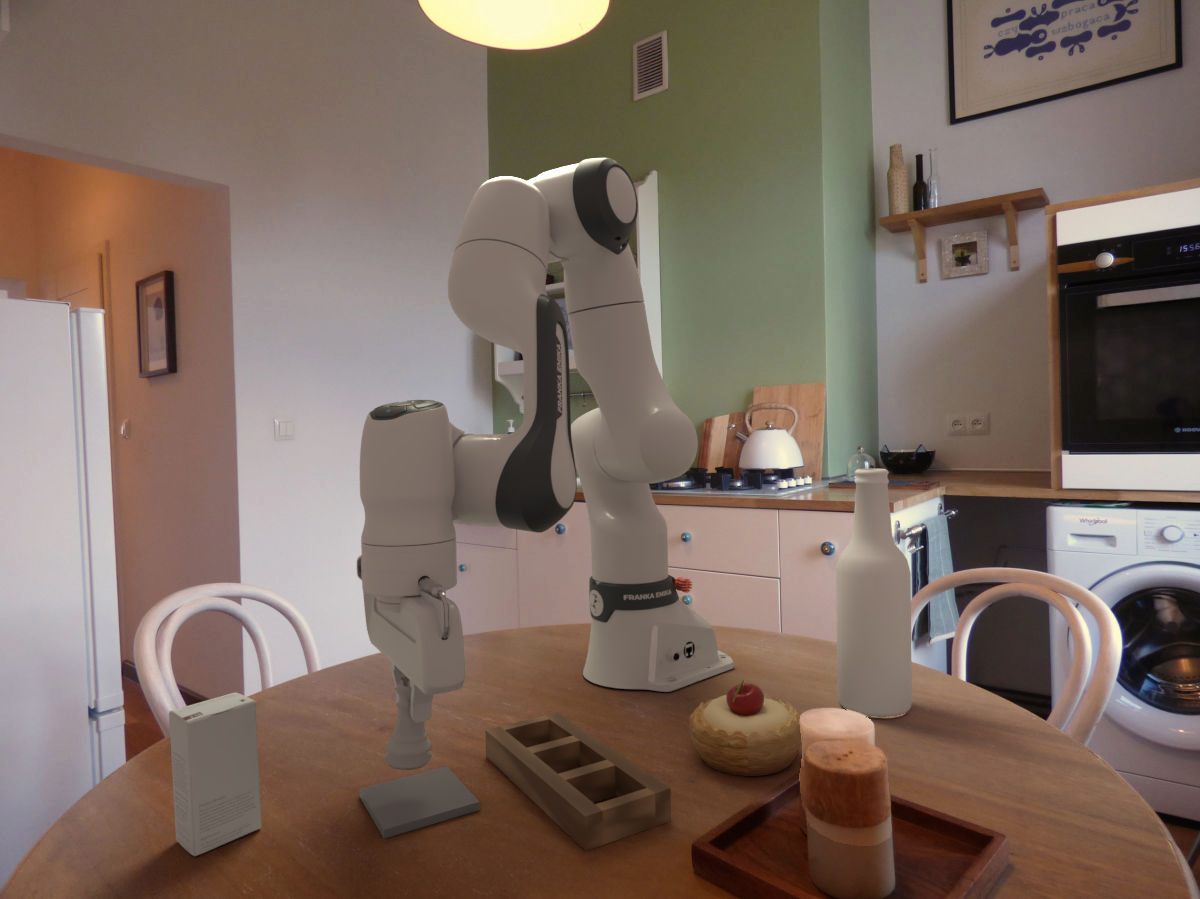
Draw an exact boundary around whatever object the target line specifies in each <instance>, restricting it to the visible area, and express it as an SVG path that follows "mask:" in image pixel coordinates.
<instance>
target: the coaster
mask: <svg viewBox="0 0 1200 899" xmlns="http://www.w3.org/2000/svg"><path fill="white" fill-rule="evenodd" d="M358 793H359V799H360V800H361V801H362V804H363V806H364V807H365V808H366V810H367V812H368V813H369V815H370V817H371V818H372V821H373V823H374V825H375V826H376V827H377V829H378V831H379V832H380V835H381V836H382V838H383V839H388V838H390V837H394V836H397V835H401V834H404V833H408V832H411V831H415V830H417V829H421V828H424V827H428V826H430V825H434V824H437V823H441V822H445V821H448V820H451V819H454V818H458V817H461V816H464V815H468V814H471V813H475V812H477V811H480V810H481V809H480V801H479V799H477V797H476V796H475V795H474V794H473V793H472V792H471V791H470V790H469V788H467V786H466V785H465V783H463V782H462V780H460V778H458V776H456V774H455V773H454V772H453V771H452V770H451V769H450V767H448V766H447V765H446V766H442V767H438V768H434V769H431V770H425V771H423V772H420V773H416V774H412V775H408V776H403V777H400V778H397V779H392V780H389V781H384V782H381V783H380V782H379V783H378V784H373V785H369V786H365V787H362V788H359V792H358Z"/></svg>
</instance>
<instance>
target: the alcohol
mask: <svg viewBox="0 0 1200 899" xmlns="http://www.w3.org/2000/svg"><path fill="white" fill-rule="evenodd" d="M889 473H890V472H889V471H888V469H886V468H857V469H856V470H855V471H854V474H855V479H854V483H855V496H854V497H855V498H854V511H853V524H852V525H853V526H852V536H851V538H850V541H849V544H847V545H846V547H845V548H844V549H843V550H842V551H841V553H840V554H839V556H838V559H837V564H836V567H835V592H836V593H835V597H836V598H835V599H836V600H835V601H836V602H835V603H836V605H835V606H836V607H835V608H836V612H835V613H836V684H837V688H836V690H837V692H836V693H837V694H836V695H837V696H836V697H837V700H838V701H839V704H840V705H841V706H843V707H842V708H843V709H844V708H845V709H850V710H853V711H856V712H860V713H862V714H865V715H867V716H869V717H870V718H869V719H873V718H872V717H871V716H877V717H887V716H888V717H889V716H897V715H901V714H904V713H906V712H907V711H908V712H909V710H910V709H911V707H912V705H913V701H912V700H913V699H912V698H913V689H912V688H913V687H912V686H913V682H912V678H913V676H912V674H913V672H912V591H911V590H912V588H911V586H912V584H911V583H912V580H911V578H912V577H911V576H912V575H911V569H910V565H909V561H908V558H907V557H906V556H905V554H904V553H903V551H902V550H901V549H900V548H899V547H898V545H896V542H895V539H894V537H893V529H892V518H891V508H890V507H891V506H890V496H889V486H888V484H889V483H890V480H889V478H888V475H889ZM845 709H844V710H845ZM908 712H907V713H908ZM907 713H906V714H907Z"/></svg>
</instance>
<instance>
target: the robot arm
mask: <svg viewBox="0 0 1200 899" xmlns="http://www.w3.org/2000/svg"><path fill="white" fill-rule="evenodd" d="M638 208H639V202H638V195H637V192H636V188H635V185H634V183H633V180H632V178H631V176H630V174H629V173H628V172H627V170H626V169H625V168H624V167H623V166H622V165H621V164H619V163H618V162H617V161H616V160H615V159H613V158H609V157H595V158H586V159H583V160H581V161H579V163H574V164H570V165H565V166H561V167H558V168H554V169H550V170H547V171H543V172H542V173H540V174H538V175H537V176H535V177H532V178H529V180H525V179H522V178H519V177H515V176H508V175H507V176H505V175H504V176H496V177H494V178H491V179H488V180H486V181H485V182H483V183H482V184H481V185H480V186H479V187H478V189H476V191H475V193H474V195H473V197H472V198H471V201H470V204H469V205H468V207H467V210H466V213H465V215H464V218H463V220H462V222H461V225H460V228H459V232H458V235H457V238H456V242H455V245H454V246H455V247H454V249H453V250H454V251H453V254H452V258H451V264H450V268H449V273H448V280H447V298H448V301H449V303H450V306H451V308H452V310H453V313H454V314H455V315H456V317H457V318H458V319H459V321H461V322H460V323H462V324H463V325H464V326H465V327H466V328H468V329H469V330H470V331H472V332H473V333H474V334H475V335H478V337H480V338H482V339H484V340H487V341H488V342H490V343H493V344H495V345H498V346H501V347H505V348H507V349H509V350H513V351H515V352H517V353H519V354H521V355H522V360H523V421H522V423H521V425H520V427H519V428H518V429H516V430H515V431H513V432H511V433H491V434H489V433H487V434H486V433H485V434H479V433H478V434H475V433H466V431H465V430H462V429H460V428H458V427H457V426H455V425H454V424H453V423H452V422H450V418H449V413H448V410H447V406H446V405H445V404H444V403H442V402H440V401H436V400H435V399H434V400H431V399H413V400H406V401H405V400H404V401H396V402H394V401H393V402H391V403H386V404H382V405H380V406H377V407H375V408H373V410H371V411H370V412H368V413H367V415H366V418H365V421H364V425H363V429H362V434H361V439H360V440H361V442H360V450H359V451H360V452H359V496H360V500H361V503H362V506H363V509H364V524H363V529H362V532H361V540H360V542H361V543H360V544H361V545H360V547H361V555H359V556H358V557H357V559H356V575H357V577H358V578H359V579H360V581H361V583H362V584H361V587H362V588H361V589H362V593H363V594H362V595H363V596H362V597H363V604H364V605H363V606H364V616H365V624H366V631H367V634H368V638H369V641H370V644H371V645H373V647H375V648H376V649H377V650H378V651H379V652H380V653H381V654H382V655H383V656H384V657H385V658H386V659H387V660H388V661H390V670H391V674H392V678H393V679H392V680H393V683H394V687H395V688H396V687H397V685H398V684H399V680H400V677H404V676H406V677H407V678H408V679H409V680H410V686H411V687H412V689H411V700H408V707H409V716H410V717H411V719H412V720H413V721H414V722H416V723H418V722H423V721H424V722H427V721H429V720H431V718H432V716H433V712H432V710H433V709H432V708H433V707H432V704H433V703H432V701H433V698H434V696H436V695H440V694H445V693H449V692H454V691H457V690H460V689H462V688H463V685H464V683H465V680H466V658H465V656H466V655H465V644H464V632H463V622H462V617H461V614H460V612H461V611H460V609H459V607H458V605H457V603H455V601H454V600H451V599H450V598H448V597H447V595H446V591H448V590H451V589H453V588H455V587H456V586H457V585H458V567H457V566H458V560H457V559H458V558H457V532H456V528H455V525H466V526H476V527H477V526H481V527H500V528H501V527H502V528H507V529H510V530H511V529H512V530H519V531H526V532H532V533H538V534H540V533H543V532H546V531H548V530H549V529H551V528H552V527H553V526H555V525H556V524H557V523H558V522H560V520H562V519H563V518H564V517H565V515H567V514H568V513H569V511H570V510H571V509H572V507H573V505H574V503H575V501H576V496H577V489H578V488H577V487H578V484H577V482H578V480H577V478H579V480H580V481H579V482H580V486H581V490H582V493H583V497H584V501H585V505H586V509H587V514H588V518H589V519H588V520H589V526H590V544H591V545H590V548H591V576H590V577H589V582H588V584H589V585H588V586H589V588H588V589H589V591H588V592H589V593H588V594H589V597H588V598H589V611H590V613H589V614H590V616H591V621H590V622H591V623H590V633H589V634H590V635H589V640H588V641H589V642H588V649H587V653H586V654H587V655H586V660H585V664H584V667H583V670H582V675H583V677H584V678H585V679H586V680H587V681H589V682H591V683H593V684H595V685H599V686H602V687H606V688H613V689H622V690H623V689H624V690H648V691H655V692H662V693H663V692H664V693H668V692H672V691H677V690H678V689H681V688H684V687H686V686H688V685H692V684H695V683H697V682H700V681H702V680H705V679H708V678H710V677H713V676H716V675H718V674H722V673H724V672H727V671H730V670H732V669H734V667H735V665H734V660H733V659H732V657H731V656H729V655H728V654H726V653H725V652H723V651H721V650H719V649H718V642H717V637H716V632H715V630H714V627H713V625H712V624H711V623H710V621H708V619H705V618H704V617H703V616H702V615H700V614H698V612H696V611H695V610H693V609H692V608H691V607H690V606H688V605H687V604H685V603H684V602H683V601H682V600H680V597H679V593H678V592H677V591H680V592H683V593H690V591H691V589H692V588H693V581H691V579H690V578H686V577H685V578H684V577H682V576H679V577H677V578H675V577H673V576H672V575H670V574H669V556H668V554H669V553H668V550H669V549H668V547H669V546H668V541H669V540H668V526H667V525H668V524H667V521H666V519H665V517H664V515H663V514H662V512H660V510H659V508H658V506H657V505H656V503H655V500H654V497H653V494H652V490H651V487H650V484H658V483H662V482H666V481H669V480H673V479H676V478H678V477H680V476H682V475H684V474H686V472H688V470H689V469H690V468H691V466H692V465H693V463H694V462H695V459H696V456H697V453H698V448H699V440H698V433H697V431H696V428H695V426H694V423H693V421H691V419H690V418H689V417H688V416H687V414H685V413H684V412H683V411H682V410H681V409H680V408H679V406H677V405H676V403H675V401H674V400H673V398H672V396H671V394H670V393H669V390H668V388H667V386H666V384H665V382H664V379H663V377H662V376H661V372H660V370H659V368H658V365H657V362H656V359H655V354H654V351H653V346H652V341H651V340H652V339H651V335H650V330H649V329H650V328H649V324H648V323H649V322H648V316H647V311H646V305H645V299H644V294H643V288H642V284H641V283H642V282H641V279H640V275H639V271H638V268H637V264H636V262H635V258H634V254H633V252H632V250H631V246H630V244H629V242H630V239H631V236H632V233H633V231H634V228H635V226H636V224H637V223H636V222H637V219H638V218H637V217H638V212H639V209H638ZM557 262H560V264H561V266H562V267H563V286H564V288H563V290H564V298H565V307H566V314H567V320H568V326H569V331H570V332H569V333H570V339H571V344H572V351H573V357H574V362H575V363H574V364H575V368H576V370H577V371H578V374H579V375H580V376H581V378H583V379H584V381H585V382H586V383H587V384H588V386H589V388H590V390H591V392H592V395H593V396H594V400H595V401H596V403H597V407H596V408H593V409H592V410H590V411H587V412H586V413H583V414H582V415H580V416H579V417H577V418H576V419H575V420H574V421H573V422H572V421H571V420H572V418H571V416H572V415H571V413H572V412H571V384H570V383H571V380H570V379H571V377H570V353H569V352H570V349H569V339H568V330H567V324H566V320H565V316H564V313H563V310H562V309H561V306H560V305H559V303H558V302H557V301H556V300H555V299H553V298H552V297H550V296H548V294H547V293H548V292H547V287H546V281H547V274H548V269H549V268H548V267H549V264H552V263H557ZM577 475H578V477H577ZM403 680H404V679H403ZM395 702H396V704H397V703H398V702H399V695H398V693H397V692H396V691H395Z"/></svg>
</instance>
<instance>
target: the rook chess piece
mask: <svg viewBox="0 0 1200 899" xmlns="http://www.w3.org/2000/svg"><path fill="white" fill-rule="evenodd" d="M403 679H404V680H403ZM411 689H412V687H411V686H410V680H409V679H408V678H407V677H406V676H404V677H400V680H399V684H398V685H397V687H395V688H394V690H395V693H396V692H397V693H398V695H399V702H398V703H397V702H396V707H397V708H398V709H397V717H396V722H395V727H394V730H393V733H392V734H391V735H390V739H389V740H388V742H387V743H386V745H385V752H387V753H385V755H384V757H383V758H384V761H385V762H386V765H387V766H389V767H390V768H392V769H395V770H399V771H411V770H417V769H420V768H423V767H425V766H426V765H428V763H429V762H430V760H431V759H432V757H433V756H432V754H431V752H430V751H431V749H432V742H431V740H430V739H429V738H428V734H427V732H426V728H425V721H423V722H418V723H416V722H414V721H413V720H412V719H411V717H410V716H409V707H408V700H411Z"/></svg>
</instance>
